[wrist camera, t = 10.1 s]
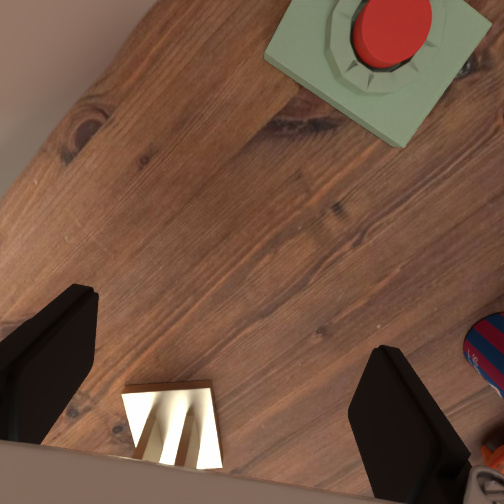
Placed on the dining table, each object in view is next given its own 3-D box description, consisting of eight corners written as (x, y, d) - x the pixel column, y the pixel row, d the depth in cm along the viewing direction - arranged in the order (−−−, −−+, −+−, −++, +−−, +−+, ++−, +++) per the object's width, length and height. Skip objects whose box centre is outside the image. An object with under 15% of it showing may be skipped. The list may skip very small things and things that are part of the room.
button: (340, 44, 21) (347, 37, 19) (379, -23, 20) (391, -37, 18) (390, 81, 21) (401, 76, 20) (431, 18, 20) (447, 8, 19)
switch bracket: (125, 385, 34) (63, 506, 23) (211, 379, 34) (191, 499, 23) (145, 462, 38) (100, 598, 27) (223, 457, 38) (211, 593, 26)
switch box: (263, 59, 24) (264, 45, 20) (334, -77, 21) (352, -121, 18) (392, 147, 26) (415, 149, 22) (472, 33, 24) (514, 14, 20)
